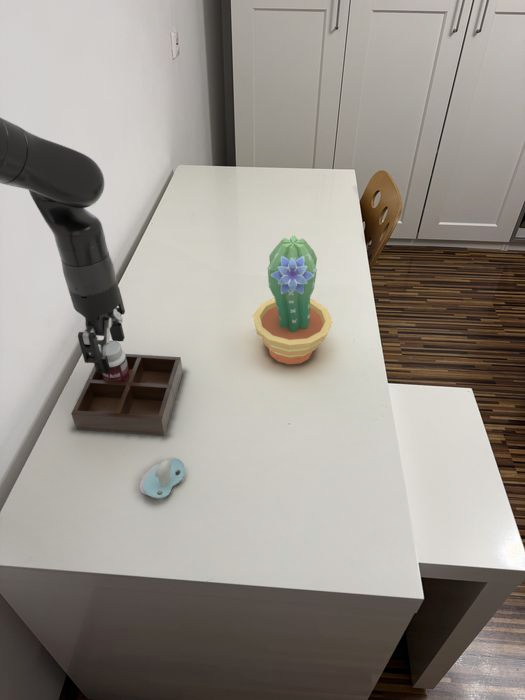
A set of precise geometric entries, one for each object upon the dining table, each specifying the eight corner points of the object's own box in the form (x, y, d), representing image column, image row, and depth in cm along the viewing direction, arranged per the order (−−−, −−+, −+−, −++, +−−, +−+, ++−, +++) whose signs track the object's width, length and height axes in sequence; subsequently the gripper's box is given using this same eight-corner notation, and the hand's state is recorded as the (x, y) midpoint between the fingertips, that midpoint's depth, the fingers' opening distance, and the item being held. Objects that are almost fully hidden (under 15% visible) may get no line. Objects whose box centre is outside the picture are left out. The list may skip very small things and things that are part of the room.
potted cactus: (237, 353, 101) (233, 244, 84) (281, 316, 110) (286, 210, 93) (300, 387, 94) (310, 275, 77) (342, 344, 103) (359, 236, 86)
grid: (164, 435, 85) (161, 420, 82) (76, 429, 86) (70, 413, 83) (182, 372, 97) (180, 357, 94) (105, 367, 98) (100, 352, 95)
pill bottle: (101, 388, 92) (90, 355, 87) (111, 370, 96) (102, 337, 90) (125, 391, 92) (117, 358, 86) (134, 373, 95) (127, 340, 90)
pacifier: (131, 491, 77) (160, 509, 75) (122, 467, 73) (154, 485, 71) (162, 458, 82) (191, 474, 79) (156, 433, 78) (186, 449, 75)
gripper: (84, 254, 84) (103, 329, 95) (50, 305, 73) (76, 382, 84) (127, 256, 84) (142, 331, 94) (100, 307, 73) (120, 385, 84)
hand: (111, 355), depth 89 cm, fingers open, 8 cm apart
